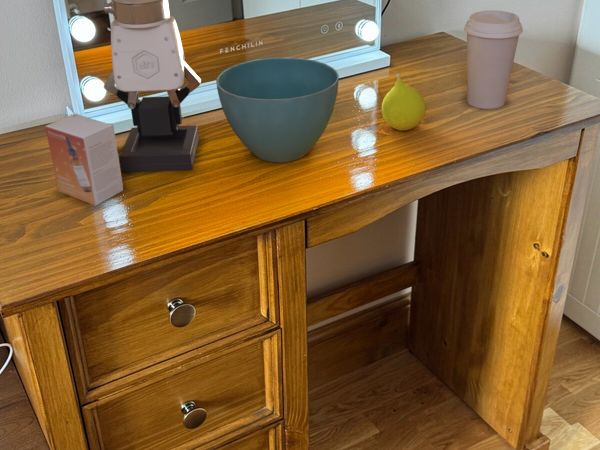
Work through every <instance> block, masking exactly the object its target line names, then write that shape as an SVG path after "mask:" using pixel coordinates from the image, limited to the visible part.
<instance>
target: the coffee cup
mask: <svg viewBox="0 0 600 450" xmlns="http://www.w3.org/2000/svg"><path fill="white" fill-rule="evenodd" d="M463 30H464V32H465V33H466V101H467V104H468V105H470V106H471V107H473V108H477V109H482V110H494V109H495V110H496V109H499V108H502V107H503V106H505V104H506V99H507V95H508V90H509V85H510V79H511V75H512V72H513V71H512V70H513V66H514V60H515V56H516V53H517V47H518V42H519V37H520V35H522V34H523V32H524V28H523V24H522V23H521V21H520V17H519V16H518V15H517V14H515V13H513V12H509V11H504V10H481V11H476V12H474V13H471V15H470V16H469V18H468V20H467V21H466V23H465V24H464V27H463Z"/></svg>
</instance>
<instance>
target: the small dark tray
mask: <svg viewBox="0 0 600 450" xmlns="http://www.w3.org/2000/svg"><path fill="white" fill-rule="evenodd" d="M198 127H199V126H198V125H197V124H196V125H195V124H194V125H179V126H178V129H177V132H172V135H157V136H142V133H138V129H137V127H131V129H130V131H129V133H128V136H127V138H126V141H125V143H124V146H123V147H122V149H121V150H122V151H121V152H120V155H119V162H120V168H121V173H145V172H146V173H147V172H148V173H149V172H173V171H174V172H175V171H176V172H177V171H193V168H194V164H195V160H196V156H197V151H198V147H199V142H200V138H199V137H200V136H199V128H198Z"/></svg>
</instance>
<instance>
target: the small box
mask: <svg viewBox="0 0 600 450" xmlns="http://www.w3.org/2000/svg"><path fill="white" fill-rule="evenodd" d="M44 127H45V133H46V138H47V142H48V147H49V148H48V149H49V153H50V157H51V158H50V159H51V163H52V167H53V173H54V177H55V181H56V187H57V191H58V192H59V193H62V194H63V195H67V196H69V197H72V198H75V199H77V200H80V201H82V202H85V203H88V204H89V205H91V206H94V207H97V206H98V205H100V204H102V203H104V202H106V201H107V200H109V199H111V198H112V197H114V196H116V195H119V194H120V193H122V192H123V191H124V184H123V178H122V177H123V176H122V169H121V163H120V156H119V152H118V146H117V139H116V133H115V132H116V131H115V126H114V124H112V123H107V122H103V121H100V120H97V119H93V118H90V117H87V116H83V115H80V114H78V113H76V112H75V113H72V114H70V115H68V116H65V117H63V118H61V119H59V120H56V121H53V122H51V123H49V124H46V125H45V126H44Z"/></svg>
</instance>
